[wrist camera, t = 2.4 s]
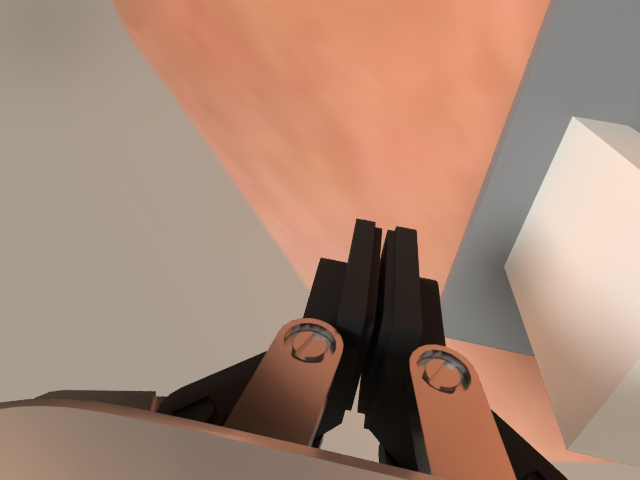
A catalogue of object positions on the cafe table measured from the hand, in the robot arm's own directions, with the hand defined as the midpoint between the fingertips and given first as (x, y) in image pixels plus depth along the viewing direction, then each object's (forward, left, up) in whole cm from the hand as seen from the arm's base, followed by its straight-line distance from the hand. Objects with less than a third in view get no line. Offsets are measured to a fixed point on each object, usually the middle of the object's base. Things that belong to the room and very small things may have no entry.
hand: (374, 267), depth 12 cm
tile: (-7, 0, -7) cm, 10 cm away
